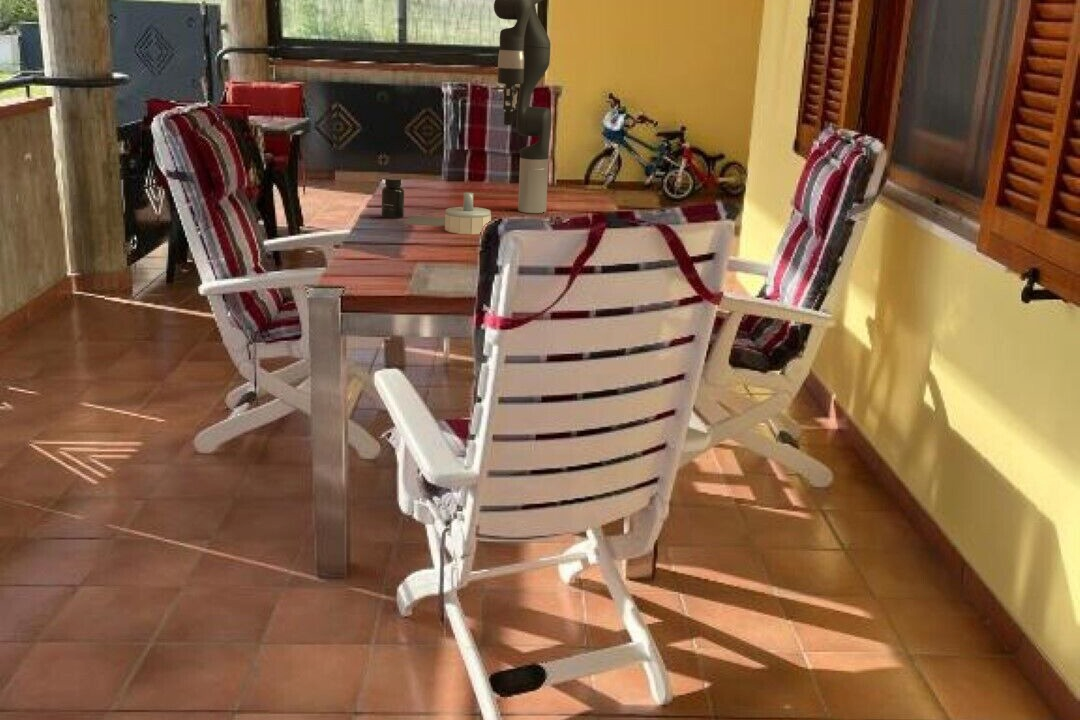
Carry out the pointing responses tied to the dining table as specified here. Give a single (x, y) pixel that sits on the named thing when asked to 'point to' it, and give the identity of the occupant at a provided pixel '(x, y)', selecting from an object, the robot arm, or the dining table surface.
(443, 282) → the dining table surface
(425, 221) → the mat
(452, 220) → the bowl
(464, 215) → the lid
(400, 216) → the supplement bottle
